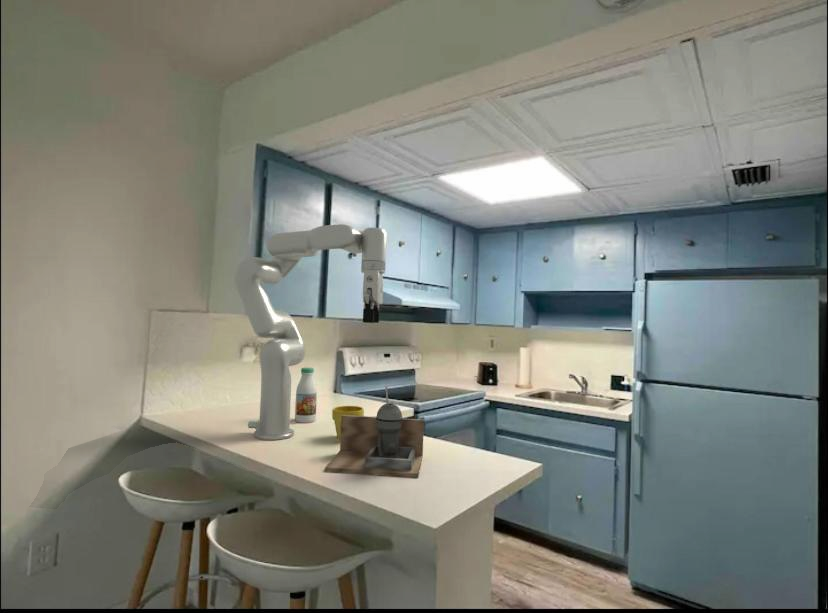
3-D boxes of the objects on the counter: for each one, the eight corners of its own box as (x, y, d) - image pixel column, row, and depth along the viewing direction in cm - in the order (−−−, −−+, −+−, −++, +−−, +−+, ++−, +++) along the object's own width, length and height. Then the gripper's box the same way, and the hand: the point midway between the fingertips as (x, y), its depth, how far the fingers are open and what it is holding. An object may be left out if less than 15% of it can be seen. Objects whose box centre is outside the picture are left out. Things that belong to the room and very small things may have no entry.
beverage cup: (396, 466, 116) (399, 390, 117) (370, 463, 118) (373, 388, 118) (404, 458, 123) (406, 386, 124) (379, 455, 125) (381, 384, 125)
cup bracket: (324, 471, 114) (326, 428, 114) (340, 452, 129) (342, 415, 130) (418, 477, 111) (419, 433, 112) (422, 458, 127) (423, 419, 128)
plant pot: (324, 438, 144) (325, 408, 145) (346, 432, 153) (347, 404, 153) (347, 444, 138) (348, 413, 139) (369, 438, 147) (370, 408, 147)
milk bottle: (290, 421, 166) (292, 367, 167) (305, 417, 173) (308, 366, 173) (304, 424, 162) (306, 369, 163) (319, 420, 168) (322, 368, 169)
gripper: (380, 264, 130) (378, 323, 129) (389, 271, 147) (387, 323, 146) (355, 264, 130) (353, 322, 130) (366, 270, 148) (364, 322, 147)
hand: (371, 322), depth 138 cm, fingers open, 9 cm apart
